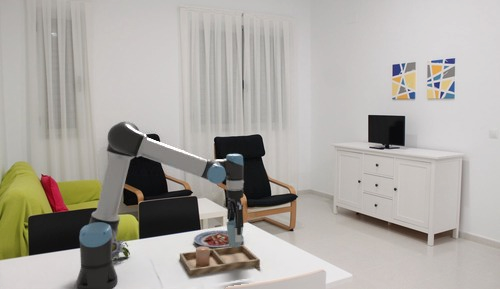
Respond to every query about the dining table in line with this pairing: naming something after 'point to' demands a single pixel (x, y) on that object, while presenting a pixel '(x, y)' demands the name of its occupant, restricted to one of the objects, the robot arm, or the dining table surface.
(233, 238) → the cup
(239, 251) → the divided wooden tray
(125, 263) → the dining table surface
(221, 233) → the ceramic plate
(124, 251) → the passion flower
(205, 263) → the tan rounded piece
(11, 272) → the dining table surface
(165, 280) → the dining table surface
